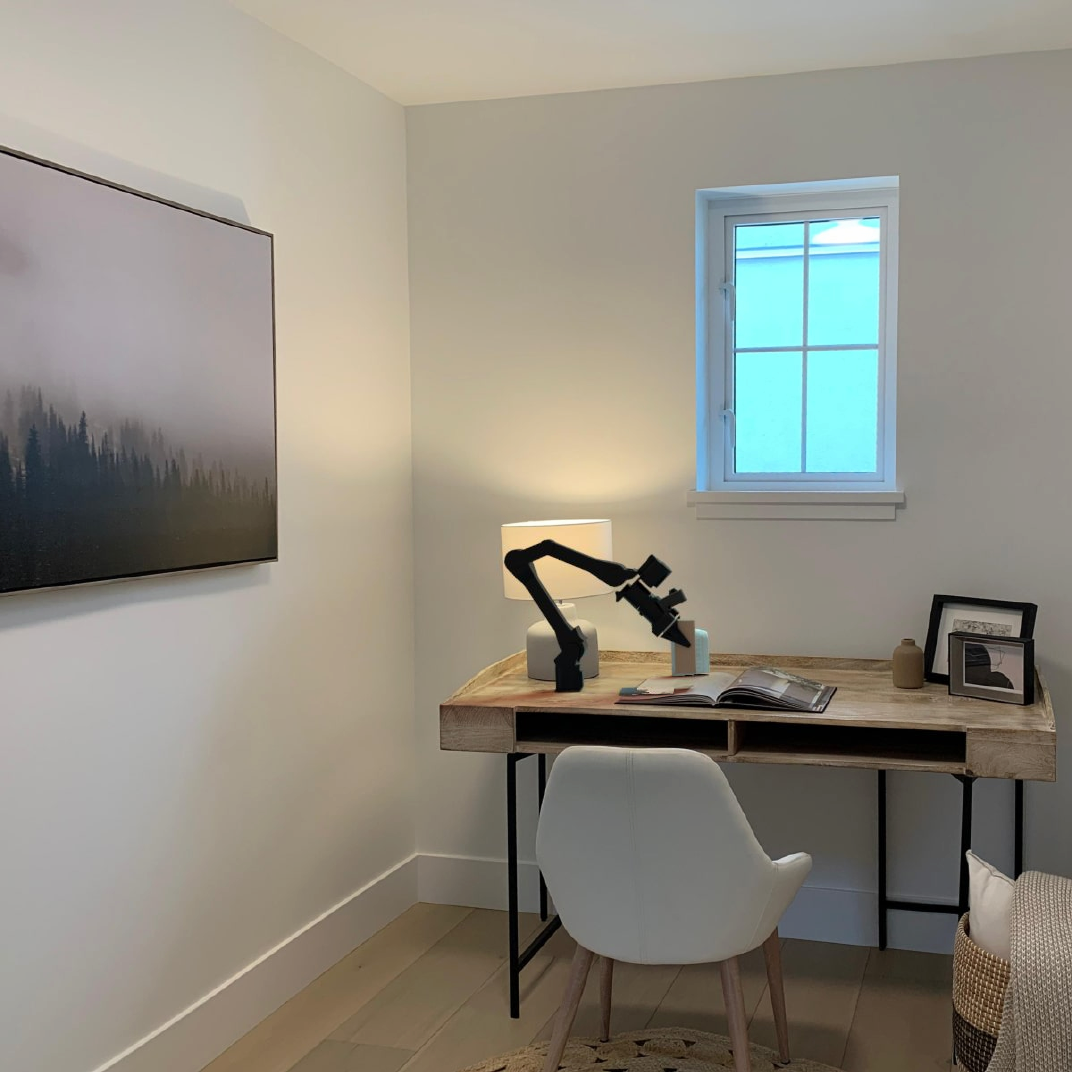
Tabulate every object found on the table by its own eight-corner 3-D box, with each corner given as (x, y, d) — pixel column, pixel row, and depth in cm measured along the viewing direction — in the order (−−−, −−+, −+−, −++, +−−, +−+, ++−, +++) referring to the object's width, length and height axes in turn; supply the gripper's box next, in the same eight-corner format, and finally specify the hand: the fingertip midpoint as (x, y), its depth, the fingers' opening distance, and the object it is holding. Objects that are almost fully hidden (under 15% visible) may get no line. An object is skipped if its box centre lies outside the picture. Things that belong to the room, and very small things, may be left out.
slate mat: (619, 695, 288) (619, 693, 288) (622, 689, 297) (622, 687, 297) (673, 694, 286) (673, 692, 286) (674, 688, 295) (674, 686, 295)
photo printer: (707, 673, 320) (705, 627, 320) (712, 675, 316) (710, 628, 316) (670, 675, 319) (668, 629, 319) (674, 677, 315) (672, 630, 314)
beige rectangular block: (675, 673, 293) (673, 620, 292) (676, 671, 298) (674, 619, 297) (696, 673, 292) (694, 620, 292) (696, 670, 297) (694, 618, 297)
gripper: (663, 580, 286) (711, 625, 284) (669, 575, 304) (714, 618, 302) (632, 614, 287) (679, 659, 286) (639, 607, 306) (684, 649, 304)
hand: (690, 645), depth 294 cm, fingers closed on beige rectangular block, 5 cm apart
